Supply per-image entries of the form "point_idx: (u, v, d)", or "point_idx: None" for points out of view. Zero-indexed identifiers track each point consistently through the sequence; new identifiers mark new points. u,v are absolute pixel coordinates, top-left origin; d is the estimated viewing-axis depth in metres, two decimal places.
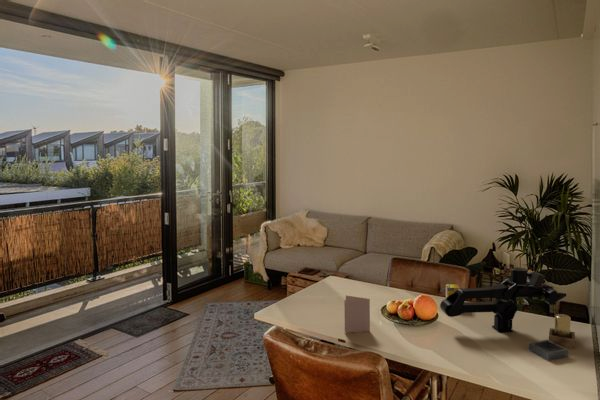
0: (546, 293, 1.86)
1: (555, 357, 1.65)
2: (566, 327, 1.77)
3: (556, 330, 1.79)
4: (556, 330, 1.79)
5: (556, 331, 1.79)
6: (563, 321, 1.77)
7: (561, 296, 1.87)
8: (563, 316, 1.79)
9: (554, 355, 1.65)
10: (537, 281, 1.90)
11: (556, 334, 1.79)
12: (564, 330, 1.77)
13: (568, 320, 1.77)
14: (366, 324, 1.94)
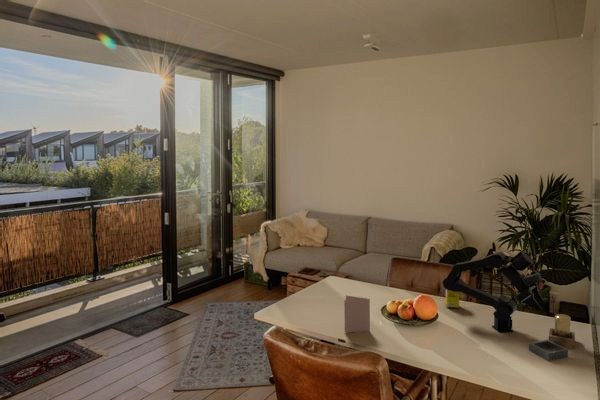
0: (523, 289, 1.81)
1: (555, 357, 1.65)
2: (566, 327, 1.77)
3: (556, 330, 1.79)
4: (556, 330, 1.79)
5: (556, 331, 1.79)
6: (563, 321, 1.77)
7: (535, 305, 1.80)
8: (563, 316, 1.79)
9: (554, 355, 1.65)
10: (530, 278, 1.83)
11: (556, 334, 1.79)
12: (564, 330, 1.77)
13: (568, 320, 1.77)
14: (366, 324, 1.94)
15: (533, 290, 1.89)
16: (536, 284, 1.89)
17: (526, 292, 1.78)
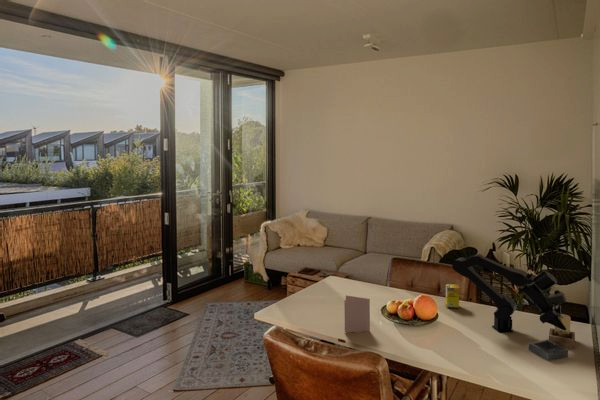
0: (547, 310, 1.76)
1: (555, 357, 1.65)
2: (566, 327, 1.77)
3: (556, 330, 1.79)
4: (556, 330, 1.79)
5: (556, 331, 1.79)
6: (563, 321, 1.77)
7: (559, 325, 1.77)
8: (563, 316, 1.79)
9: (554, 355, 1.65)
10: (553, 298, 1.78)
11: (556, 334, 1.79)
12: (564, 330, 1.77)
13: (568, 320, 1.77)
14: (366, 324, 1.94)
15: (556, 311, 1.83)
16: (559, 304, 1.85)
17: (550, 313, 1.73)
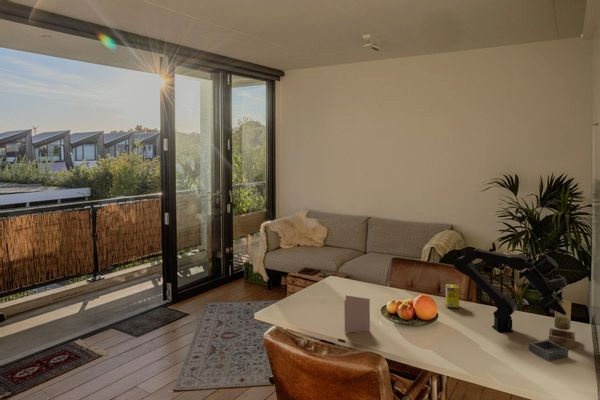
0: (547, 294, 1.75)
1: (555, 357, 1.65)
2: (566, 311, 1.75)
3: (556, 315, 1.77)
4: (557, 315, 1.77)
5: (556, 316, 1.77)
6: (563, 306, 1.75)
7: (559, 310, 1.75)
8: (564, 301, 1.77)
9: (554, 355, 1.65)
10: (554, 282, 1.76)
11: (556, 319, 1.77)
12: (564, 315, 1.75)
13: (568, 305, 1.75)
14: (366, 324, 1.94)
15: (557, 296, 1.81)
16: (561, 289, 1.82)
17: (549, 297, 1.72)
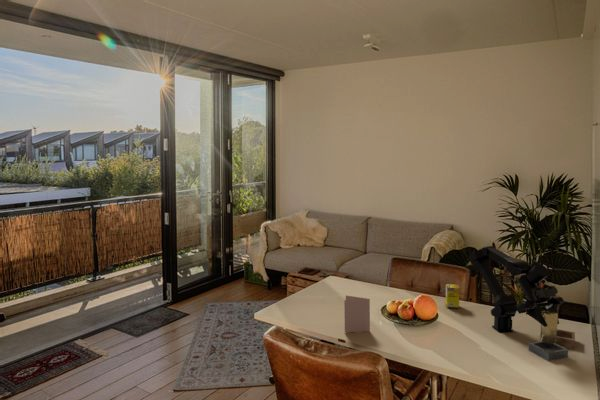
0: None
1: (555, 357, 1.65)
2: (548, 323, 1.67)
3: (541, 326, 1.70)
4: None
5: None
6: (544, 317, 1.68)
7: (539, 320, 1.69)
8: (551, 313, 1.68)
9: (554, 355, 1.65)
10: (538, 291, 1.70)
11: None
12: (546, 327, 1.67)
13: (550, 317, 1.66)
14: (366, 324, 1.94)
15: (550, 308, 1.72)
16: (558, 302, 1.72)
17: (523, 304, 1.69)
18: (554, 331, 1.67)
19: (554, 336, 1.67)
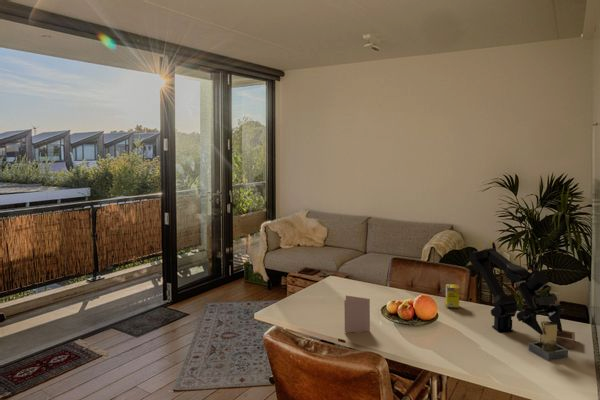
0: None
1: (555, 357, 1.65)
2: (547, 334, 1.67)
3: (540, 337, 1.71)
4: (540, 337, 1.71)
5: (540, 338, 1.71)
6: (544, 328, 1.68)
7: (536, 328, 1.68)
8: (550, 324, 1.69)
9: (554, 355, 1.65)
10: (538, 299, 1.70)
11: (540, 341, 1.71)
12: (545, 338, 1.68)
13: (550, 328, 1.67)
14: (366, 324, 1.94)
15: (553, 315, 1.73)
16: (557, 309, 1.72)
17: (523, 311, 1.69)
18: (553, 342, 1.67)
19: (553, 347, 1.68)
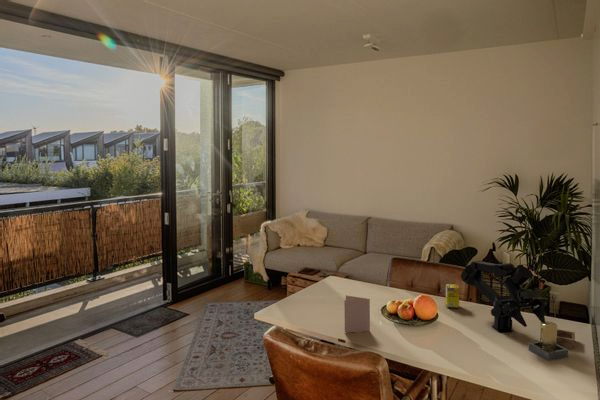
0: None
1: (555, 357, 1.65)
2: (547, 334, 1.67)
3: (540, 337, 1.71)
4: (540, 337, 1.71)
5: (540, 338, 1.71)
6: (544, 328, 1.68)
7: (520, 321, 1.76)
8: (550, 324, 1.69)
9: (554, 355, 1.65)
10: (522, 293, 1.78)
11: (540, 341, 1.71)
12: (545, 338, 1.68)
13: (550, 328, 1.67)
14: (366, 324, 1.94)
15: (537, 308, 1.81)
16: (541, 302, 1.80)
17: (508, 304, 1.77)
18: (553, 342, 1.67)
19: (554, 347, 1.67)
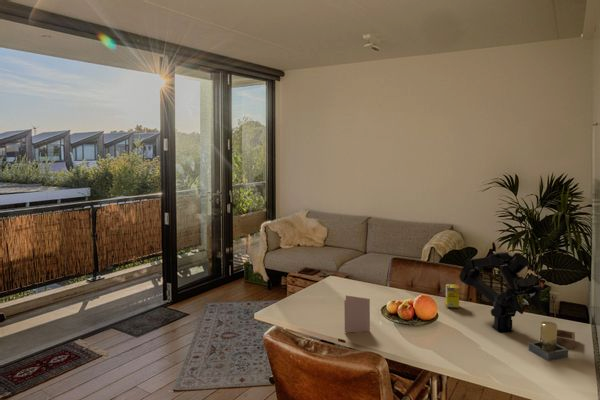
0: None
1: (555, 357, 1.65)
2: (547, 334, 1.67)
3: (540, 337, 1.71)
4: (540, 337, 1.71)
5: (540, 338, 1.71)
6: (544, 328, 1.68)
7: (516, 308, 1.78)
8: (550, 324, 1.69)
9: (554, 355, 1.65)
10: (519, 280, 1.80)
11: (540, 341, 1.71)
12: (545, 338, 1.68)
13: (550, 328, 1.67)
14: (366, 324, 1.94)
15: (534, 296, 1.82)
16: (537, 290, 1.81)
17: (504, 292, 1.78)
18: (553, 342, 1.67)
19: (554, 347, 1.67)
